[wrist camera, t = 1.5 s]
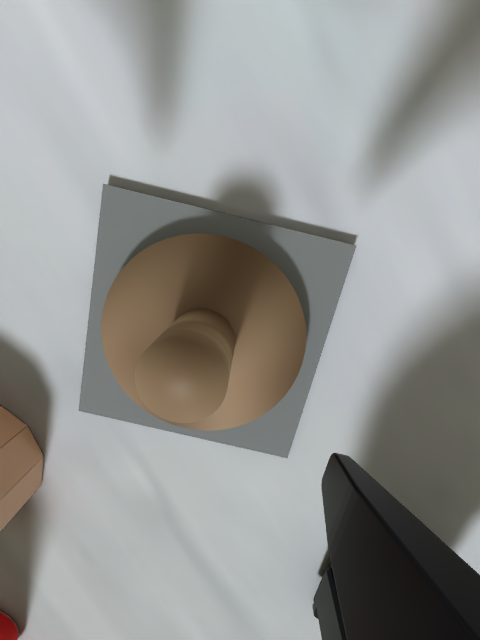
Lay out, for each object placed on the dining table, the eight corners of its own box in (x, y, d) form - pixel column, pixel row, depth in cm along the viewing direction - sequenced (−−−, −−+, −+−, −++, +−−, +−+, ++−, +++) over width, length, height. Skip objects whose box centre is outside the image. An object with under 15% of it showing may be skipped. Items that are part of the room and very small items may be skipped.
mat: (353, 245, 14) (356, 245, 14) (286, 453, 17) (287, 458, 17) (107, 185, 14) (103, 183, 14) (82, 406, 17) (78, 410, 17)
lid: (328, 261, 14) (372, 271, 9) (275, 439, 17) (285, 526, 12) (121, 212, 14) (45, 193, 9) (98, 399, 16) (29, 469, 11)
